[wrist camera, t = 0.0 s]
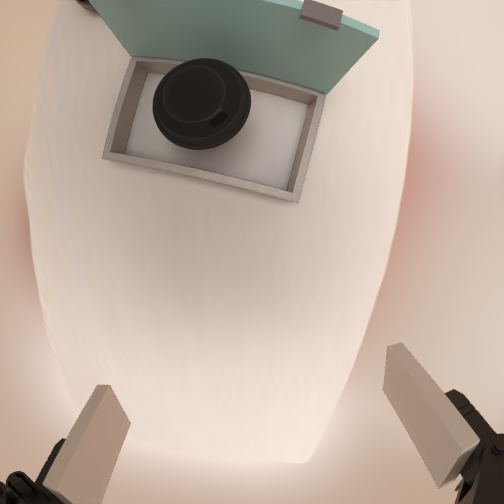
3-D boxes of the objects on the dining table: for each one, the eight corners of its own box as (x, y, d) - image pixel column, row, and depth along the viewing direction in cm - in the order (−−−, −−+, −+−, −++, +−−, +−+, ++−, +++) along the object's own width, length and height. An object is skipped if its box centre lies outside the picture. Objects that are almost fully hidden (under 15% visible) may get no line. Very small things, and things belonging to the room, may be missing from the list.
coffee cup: (232, 168, 39) (226, 163, 25) (170, 145, 38) (131, 130, 23) (258, 107, 37) (267, 70, 22) (196, 85, 36) (173, 42, 21)
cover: (127, 63, 29) (133, 49, 29) (325, 102, 32) (328, 87, 31) (74, 0, 14) (85, -17, 13) (382, 45, 16) (383, 25, 16)
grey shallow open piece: (144, 65, 35) (133, 53, 30) (317, 100, 37) (327, 91, 32) (116, 159, 38) (101, 158, 33) (291, 199, 40) (298, 202, 36)
